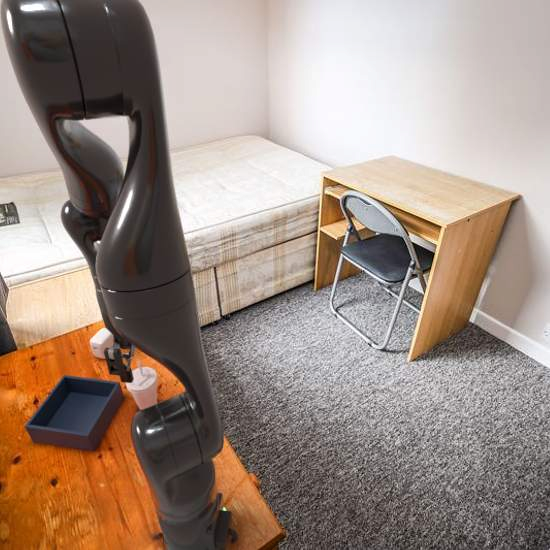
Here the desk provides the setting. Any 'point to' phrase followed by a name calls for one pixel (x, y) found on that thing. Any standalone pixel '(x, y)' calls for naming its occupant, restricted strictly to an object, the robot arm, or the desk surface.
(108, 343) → the power adapter
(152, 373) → the smoothie
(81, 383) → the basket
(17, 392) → the desk surface
